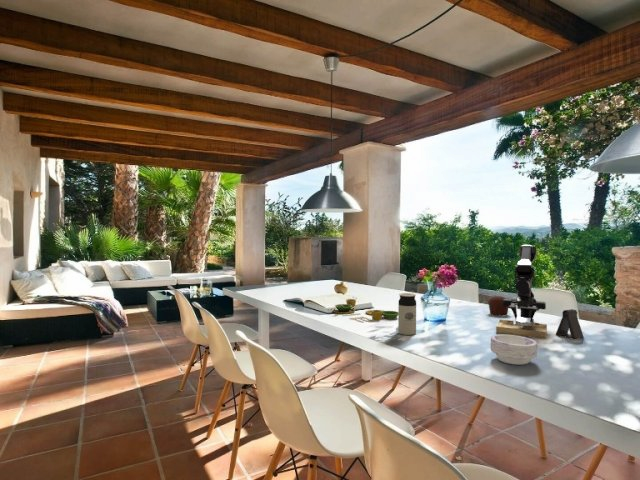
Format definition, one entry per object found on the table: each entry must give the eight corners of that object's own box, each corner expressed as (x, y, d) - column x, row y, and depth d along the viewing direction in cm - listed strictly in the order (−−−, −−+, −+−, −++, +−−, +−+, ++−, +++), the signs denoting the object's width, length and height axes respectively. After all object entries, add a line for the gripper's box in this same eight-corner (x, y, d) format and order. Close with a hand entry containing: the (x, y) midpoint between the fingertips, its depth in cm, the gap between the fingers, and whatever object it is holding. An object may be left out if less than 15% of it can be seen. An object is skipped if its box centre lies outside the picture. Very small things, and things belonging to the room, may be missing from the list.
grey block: (517, 322, 203) (517, 315, 202) (530, 324, 200) (530, 316, 199) (515, 330, 194) (515, 322, 194) (529, 332, 191) (529, 324, 191)
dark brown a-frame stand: (555, 335, 185) (555, 308, 185) (563, 333, 188) (564, 307, 187) (575, 339, 177) (575, 312, 177) (583, 338, 180) (584, 311, 179)
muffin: (512, 314, 233) (512, 296, 232) (506, 317, 224) (506, 298, 224) (491, 311, 240) (491, 294, 240) (484, 314, 232) (484, 296, 232)
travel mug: (398, 330, 192) (398, 292, 192) (415, 331, 191) (416, 293, 190) (398, 334, 184) (398, 295, 184) (416, 335, 183) (416, 295, 182)
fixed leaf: (500, 326, 201) (500, 318, 200) (546, 332, 190) (546, 323, 190) (496, 332, 189) (496, 324, 188) (545, 338, 178) (545, 329, 178)
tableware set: (325, 310, 245) (325, 299, 245) (364, 306, 257) (364, 296, 257) (361, 324, 208) (361, 312, 208) (405, 319, 220) (405, 307, 220)
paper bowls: (547, 365, 143) (547, 343, 142) (511, 369, 138) (511, 346, 138) (514, 353, 157) (515, 332, 157) (481, 356, 153) (481, 335, 153)
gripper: (501, 290, 196) (500, 322, 197) (545, 293, 187) (544, 327, 187) (503, 287, 206) (503, 318, 206) (546, 290, 197) (545, 322, 197)
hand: (523, 321), depth 199 cm, fingers closed on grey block, 6 cm apart
